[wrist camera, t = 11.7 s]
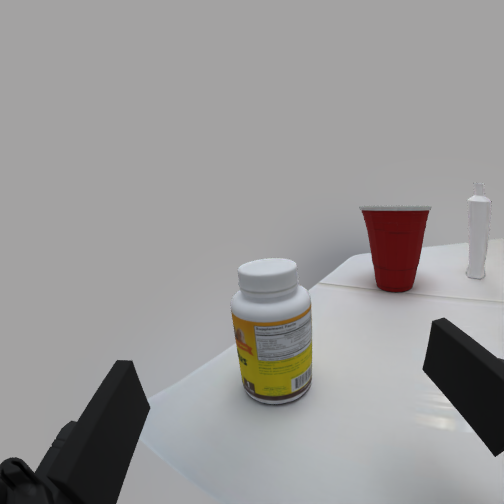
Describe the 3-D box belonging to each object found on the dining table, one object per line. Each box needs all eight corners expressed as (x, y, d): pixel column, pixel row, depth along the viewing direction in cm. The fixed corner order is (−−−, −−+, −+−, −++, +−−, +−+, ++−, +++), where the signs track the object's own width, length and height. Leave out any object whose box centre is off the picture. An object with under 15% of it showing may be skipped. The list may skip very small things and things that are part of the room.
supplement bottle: (246, 367, 24) (232, 258, 22) (308, 363, 24) (304, 252, 21) (239, 409, 19) (218, 281, 17) (315, 405, 18) (314, 274, 16)
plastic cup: (424, 273, 40) (426, 200, 38) (432, 299, 31) (437, 207, 28) (363, 272, 45) (361, 200, 43) (356, 297, 36) (354, 207, 33)
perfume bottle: (490, 279, 33) (495, 184, 29) (467, 279, 35) (471, 183, 31) (483, 271, 36) (487, 183, 33) (462, 270, 39) (465, 182, 35)
